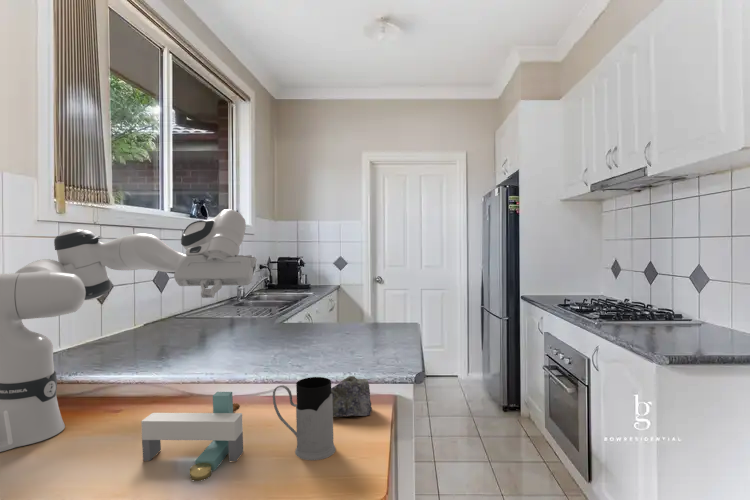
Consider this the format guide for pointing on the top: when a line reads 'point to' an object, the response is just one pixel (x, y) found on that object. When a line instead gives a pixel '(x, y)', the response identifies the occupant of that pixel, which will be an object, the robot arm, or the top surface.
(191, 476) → the token
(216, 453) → the block
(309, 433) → the glass holder
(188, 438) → the white bench
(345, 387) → the mineral rock
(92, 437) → the top surface
